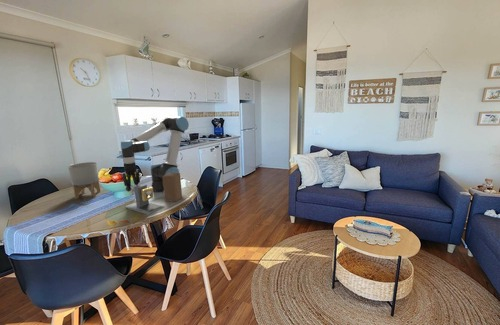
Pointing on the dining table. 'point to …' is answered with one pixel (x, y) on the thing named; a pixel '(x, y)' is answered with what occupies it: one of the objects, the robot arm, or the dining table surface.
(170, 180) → the wooden block
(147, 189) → the spacer
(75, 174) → the planter
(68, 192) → the dining table surface
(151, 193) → the shaft
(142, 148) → the robot arm
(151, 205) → the jig
